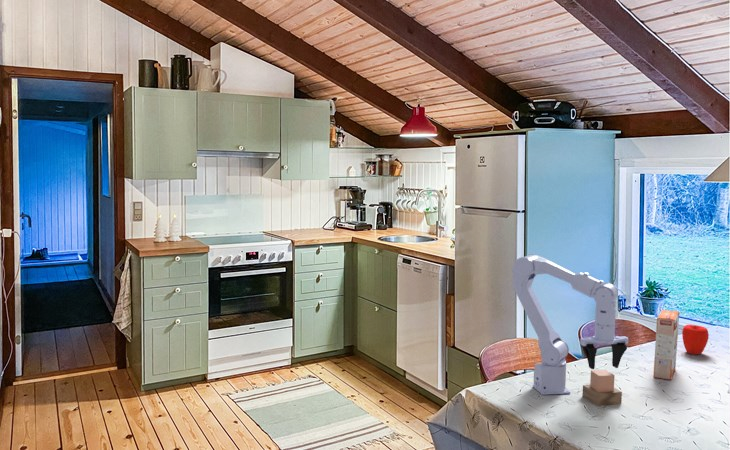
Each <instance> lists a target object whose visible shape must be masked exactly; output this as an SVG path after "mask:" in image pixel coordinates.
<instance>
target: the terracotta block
mask: <svg viewBox="0 0 730 450" xmlns="http://www.w3.org/2000/svg"><path fill="white" fill-rule="evenodd" d="M589 382H590V383H589V385H590V386H591V387H592V388H593V389H595V390H596V391H597V392H610V391H614V388H615V375H614V374H613V373H612V372H610V371H609V370H607V369H590V380H589Z"/></svg>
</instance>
